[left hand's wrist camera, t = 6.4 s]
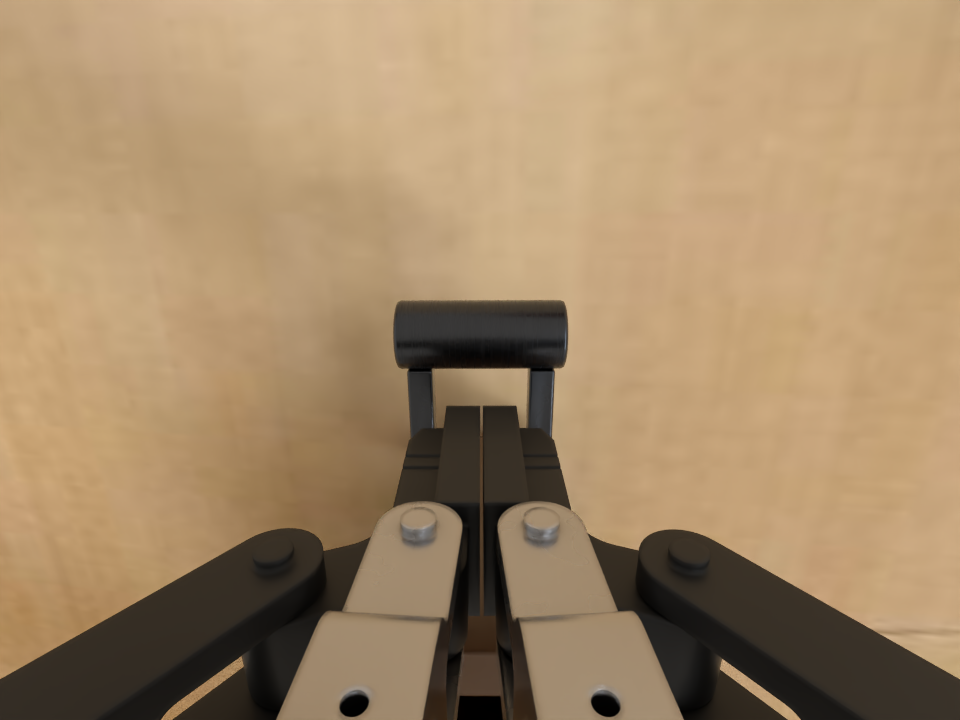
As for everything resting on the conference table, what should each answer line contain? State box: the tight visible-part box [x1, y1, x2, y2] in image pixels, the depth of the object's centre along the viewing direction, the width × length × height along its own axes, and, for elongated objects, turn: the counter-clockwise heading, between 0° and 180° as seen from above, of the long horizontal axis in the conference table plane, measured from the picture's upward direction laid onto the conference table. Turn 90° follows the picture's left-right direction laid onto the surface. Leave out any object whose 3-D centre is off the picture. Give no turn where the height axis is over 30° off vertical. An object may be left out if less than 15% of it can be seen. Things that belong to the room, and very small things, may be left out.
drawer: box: [393, 300, 568, 720], centre depth 17 cm, size 24×4×9 cm, turn 0°
